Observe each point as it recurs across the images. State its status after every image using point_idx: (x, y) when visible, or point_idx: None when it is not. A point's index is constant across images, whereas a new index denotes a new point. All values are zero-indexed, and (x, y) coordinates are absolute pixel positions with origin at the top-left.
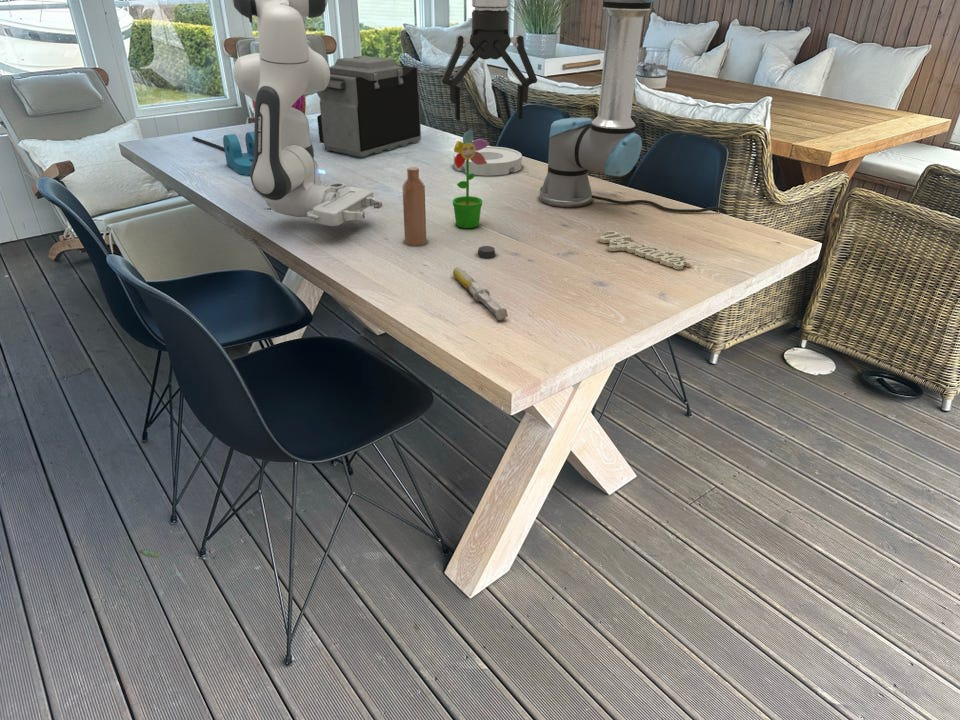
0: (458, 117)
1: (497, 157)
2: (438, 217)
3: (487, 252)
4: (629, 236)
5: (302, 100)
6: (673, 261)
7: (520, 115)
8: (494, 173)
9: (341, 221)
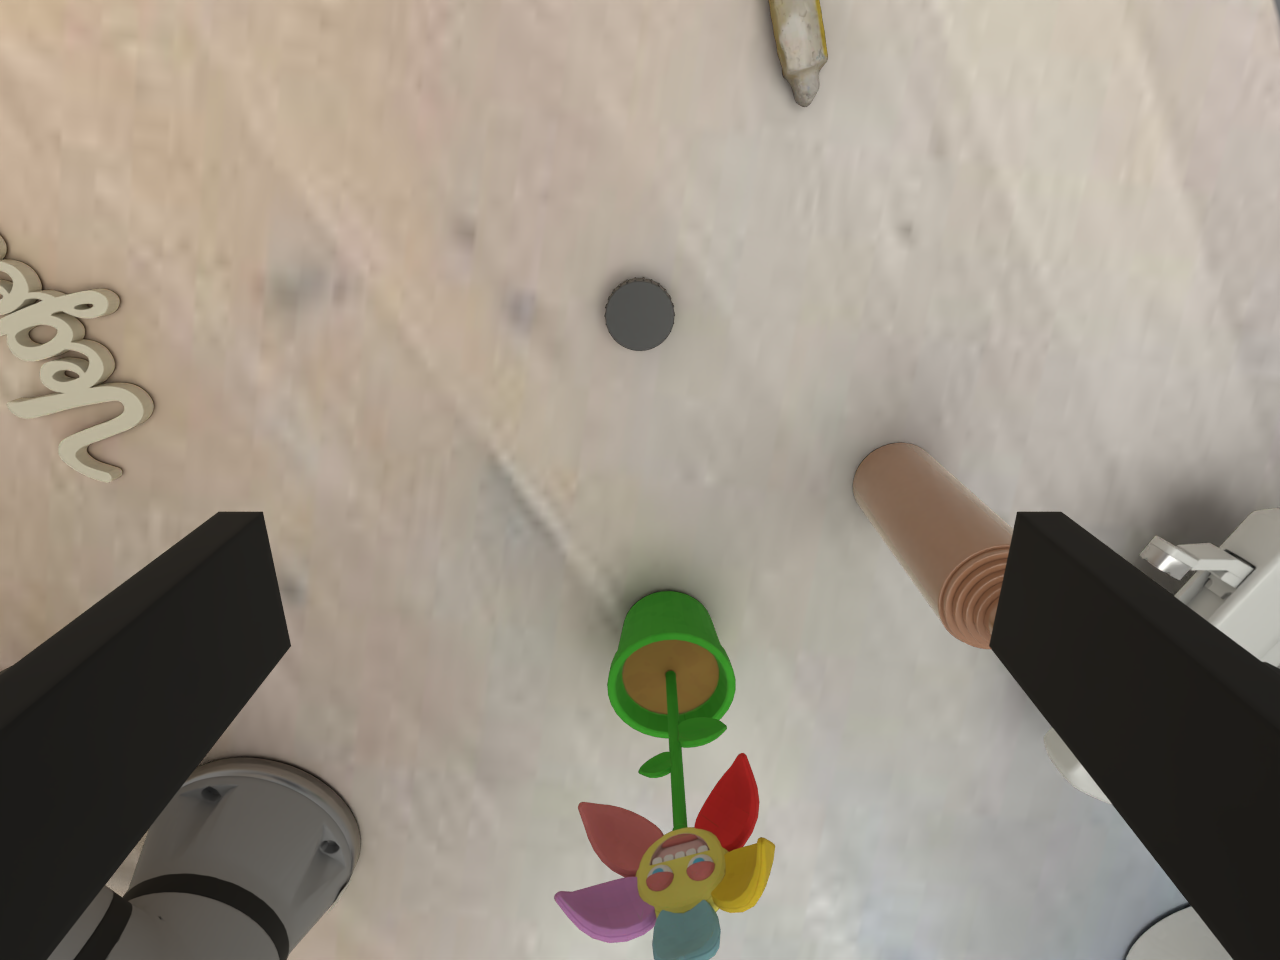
0: (1053, 526)
1: None
2: (762, 712)
3: (641, 280)
4: (14, 409)
5: None
6: None
7: (219, 531)
8: None
9: (1235, 537)
